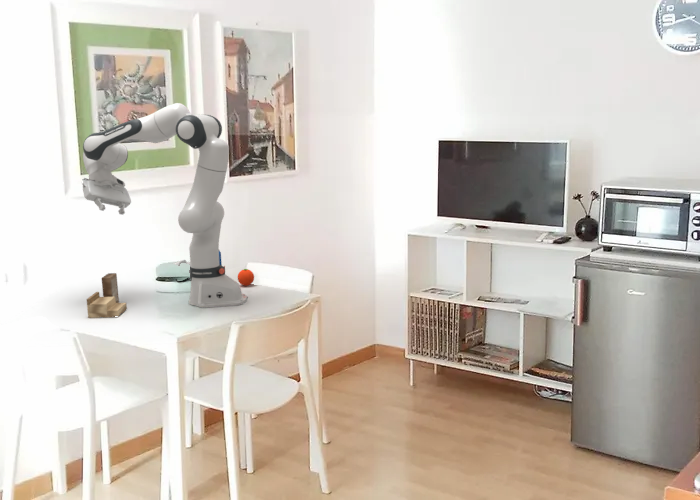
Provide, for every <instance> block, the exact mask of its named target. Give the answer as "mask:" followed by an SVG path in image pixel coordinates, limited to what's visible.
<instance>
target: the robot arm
mask: <svg viewBox="0 0 700 500" xmlns="http://www.w3.org/2000/svg"><path fill="white" fill-rule="evenodd" d="M222 133H223V126H222V123H221V121H220V120H219V119H218V118H217V117H215V116H213V115H211V114H203V113H202V114H200V113H196V114H195V113H194V114H192V113H191V112H190V110H189V108H188V107H187V106H186V105H184V104H183V103H180V102H175V103H172V104H169V105H166V106H165V107H162V108H160V109H158V110H156V111H154V112H151V114H148V115H145V116H142V117H140V118H139V117H138V118H134V119H131V120H128V121H125V122H122V123H120V124H118V125H116V126H113V127H111V128H109V129H106V130H104V131H101V132H93V133H91V134H89V135H88V136H87V137H86V138H85V140H83V144H82V148H83V150H82V151H83V153H82V161H83V165H84V168H85V171H86V172H87V174H88V178H85V177H84V178H83V179H82V180H81V185H82V192H83V196H84V198H85V200H86V201H91V202H94V204H95V205H96V206H97V207H98V209H99V211H103V212H104V211H105V210H106V207H105V204H106V205H109V206H115V207H118V208H119V210H118V211H117V212H118V214H119V215H123V216H124V214H125V213H126V212H125V209H126V208H127V207H129V206H130V205H131V203H132V199H131V197H130V196H131V195H130V194H129V191H128V189H127V188H126V183H125V181H123V180H121V179H119V178H117V177H116V176H115V175H114V174H113V172H112V171H116V170H118V169H119V168H121V167H122V166H124V165H125V164H126V162H127V161H128V158H129V152H128V148H127V146H125V145H124V144H122V143H123V142H126V141H128V140H129V141H131V140H136V141H143V142H148V143H152V144H160V143H162V142H166V141H167V140H169V139H172V138H173V137H174V136H177V139H179V140H180V141H181V142H183V143H185V144H186V145H188V146H190V147H191V148H192V149H194V150H196V149H197V150H198V153H199V155H198V160H197V165H196V170H195V175H194V178H193V183H192V187H191V188H190V189H191V190H190V191H189V195H187V199H186V200H185V203H184V206H183V208H182V210H181V211H180V212H179V215H178V218H177V219H178V221H177V222H178V225H179V227H180V228H181V229H182V231H184V232H186V233H187V234H192V238H191V241H190V244H189V247H188V250H189V262H190V270H189V273H190V278H189V279H190V294H189V300H188V304H189V305H192V306H196V307H198V308H215V307H217V308H218V307H229V306H232V307H233V306H239V305H240V306H241V305H243V304H245V303H246V302H247V301H248V295H247V294H246V293H242V290H241V287H240V283H239V282H237V281H236V280H234V279H233V278H232V277H230V276H229V275H227V274H226V265H224V266H223V264H222V265H220V264H219V250H220V249H219V248H220V247H219V246H220V245H219V244H220V237H221V236H220V235H221V228H222V222H223V219H224V216H225V210H224V207H223V205H222V204H221V203H220V202H219V201H218V200H219V197H220V196H221V194H222V192H223V189H224V185H225V180H226V177H227V176H226V175H227V171H228V164H229V158H230V156H229V154H230V146H229V144H228V143H227V142H226V141H225V140H223V139H222V138H220V137H221V135H222Z"/></svg>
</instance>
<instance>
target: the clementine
mask: <svg viewBox="0 0 700 500" xmlns="http://www.w3.org/2000/svg"><path fill="white" fill-rule="evenodd" d="M237 281H238V284H239V285H242V286H246V287H247V286H250V285H251V284H252V283H254V281H255V275H254V272H253V271H252V270H250V269H249V268H244V269H241V270H240V271H239V272H238V274H237Z"/></svg>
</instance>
